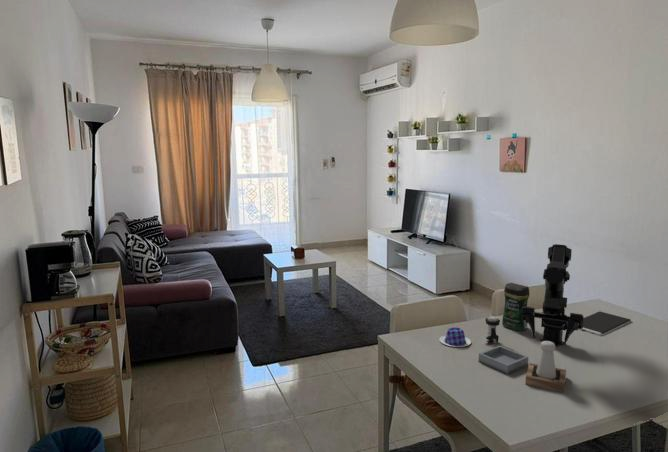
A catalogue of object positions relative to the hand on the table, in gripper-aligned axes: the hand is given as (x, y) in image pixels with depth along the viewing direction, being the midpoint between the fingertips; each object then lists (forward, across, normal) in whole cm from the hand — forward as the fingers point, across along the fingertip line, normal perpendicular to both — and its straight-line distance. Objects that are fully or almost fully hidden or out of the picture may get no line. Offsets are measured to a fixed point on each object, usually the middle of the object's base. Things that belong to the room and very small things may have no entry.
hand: (549, 340), depth 150 cm
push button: (-4, -21, +21) cm, 30 cm away
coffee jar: (-20, -15, +36) cm, 44 cm away
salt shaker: (+12, 0, +5) cm, 13 cm away
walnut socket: (+12, 0, +5) cm, 13 cm away
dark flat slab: (-34, +16, +51) cm, 63 cm away
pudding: (0, -34, +18) cm, 38 cm away
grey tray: (+7, -14, +9) cm, 18 cm away
